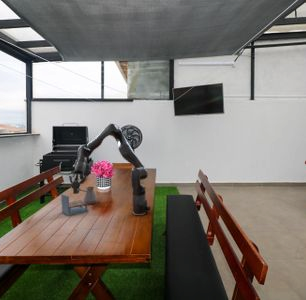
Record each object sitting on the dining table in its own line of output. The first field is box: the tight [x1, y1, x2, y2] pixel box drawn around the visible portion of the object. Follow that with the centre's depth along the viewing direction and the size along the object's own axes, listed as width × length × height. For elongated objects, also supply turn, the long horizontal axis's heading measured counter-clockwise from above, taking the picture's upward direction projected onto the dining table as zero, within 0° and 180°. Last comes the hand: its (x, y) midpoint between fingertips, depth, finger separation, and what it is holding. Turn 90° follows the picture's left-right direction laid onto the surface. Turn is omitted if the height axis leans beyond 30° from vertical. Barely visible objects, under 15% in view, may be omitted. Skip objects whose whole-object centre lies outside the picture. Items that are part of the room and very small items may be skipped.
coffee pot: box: [70, 186, 99, 205], centre depth 209 cm, size 21×12×15 cm, turn 113°
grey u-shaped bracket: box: [61, 193, 89, 217], centre depth 190 cm, size 15×11×14 cm
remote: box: [72, 180, 80, 195], centre depth 190 cm, size 4×3×9 cm
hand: (75, 187), depth 188 cm, fingers closed on remote, 3 cm apart
